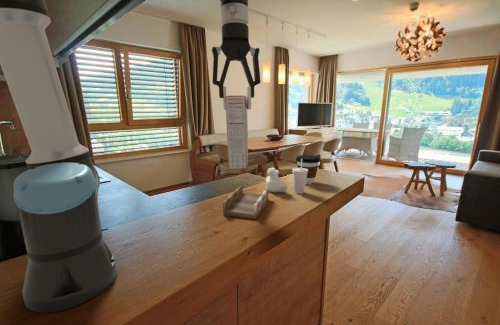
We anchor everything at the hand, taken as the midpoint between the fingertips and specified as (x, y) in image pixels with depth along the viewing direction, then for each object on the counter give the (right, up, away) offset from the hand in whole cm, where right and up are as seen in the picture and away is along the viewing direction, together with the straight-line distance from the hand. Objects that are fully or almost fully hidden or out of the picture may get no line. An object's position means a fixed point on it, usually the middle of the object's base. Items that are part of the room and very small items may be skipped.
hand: (237, 109), depth 75 cm
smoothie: (+24, -28, +27) cm, 46 cm away
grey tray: (+3, -32, +13) cm, 34 cm away
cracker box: (0, -17, +4) cm, 17 cm away
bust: (+14, -28, +29) cm, 43 cm away
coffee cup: (+30, -25, +41) cm, 57 cm away
